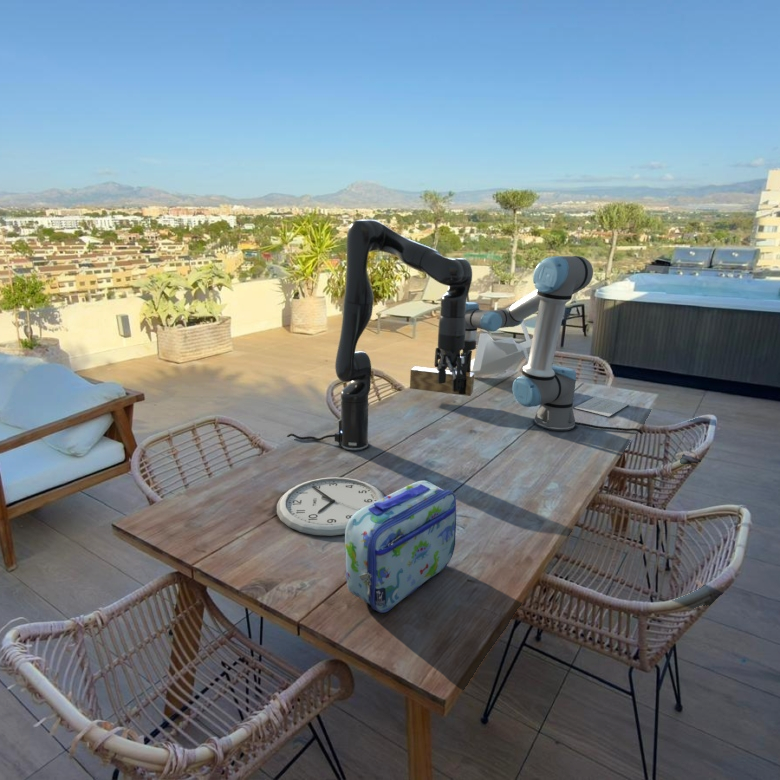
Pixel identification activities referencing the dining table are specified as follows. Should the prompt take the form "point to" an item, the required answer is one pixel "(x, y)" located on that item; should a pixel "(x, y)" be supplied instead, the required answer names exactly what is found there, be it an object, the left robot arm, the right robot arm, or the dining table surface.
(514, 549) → the dining table surface
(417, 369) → the box
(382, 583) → the lunch box
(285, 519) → the wall clock
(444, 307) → the left robot arm
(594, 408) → the invitation card
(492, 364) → the white plastic object
